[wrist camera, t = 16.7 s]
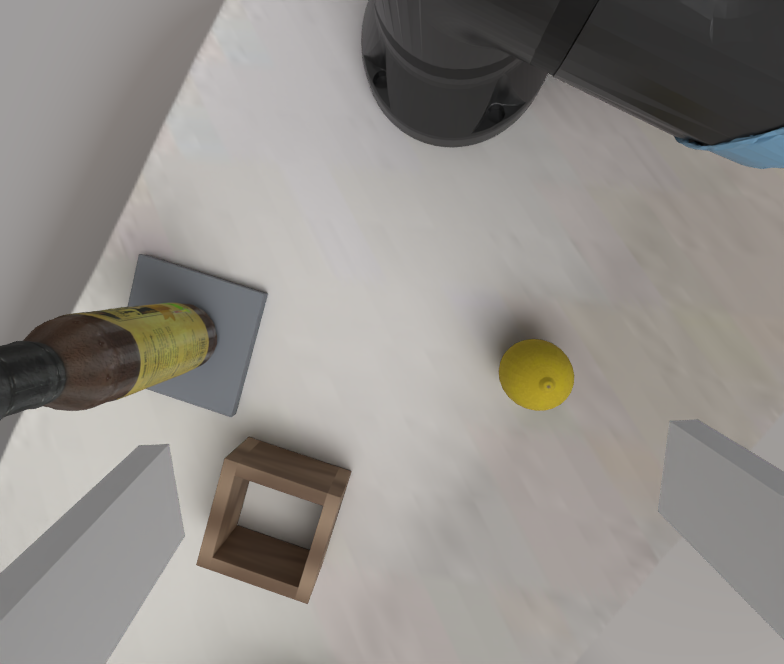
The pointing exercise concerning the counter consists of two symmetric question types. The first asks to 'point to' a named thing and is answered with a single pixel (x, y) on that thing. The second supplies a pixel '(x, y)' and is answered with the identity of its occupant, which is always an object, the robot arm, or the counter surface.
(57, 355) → the sauce bottle
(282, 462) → the walnut sleeve
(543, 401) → the lemon
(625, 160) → the counter surface
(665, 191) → the counter surface
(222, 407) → the rubber mat
